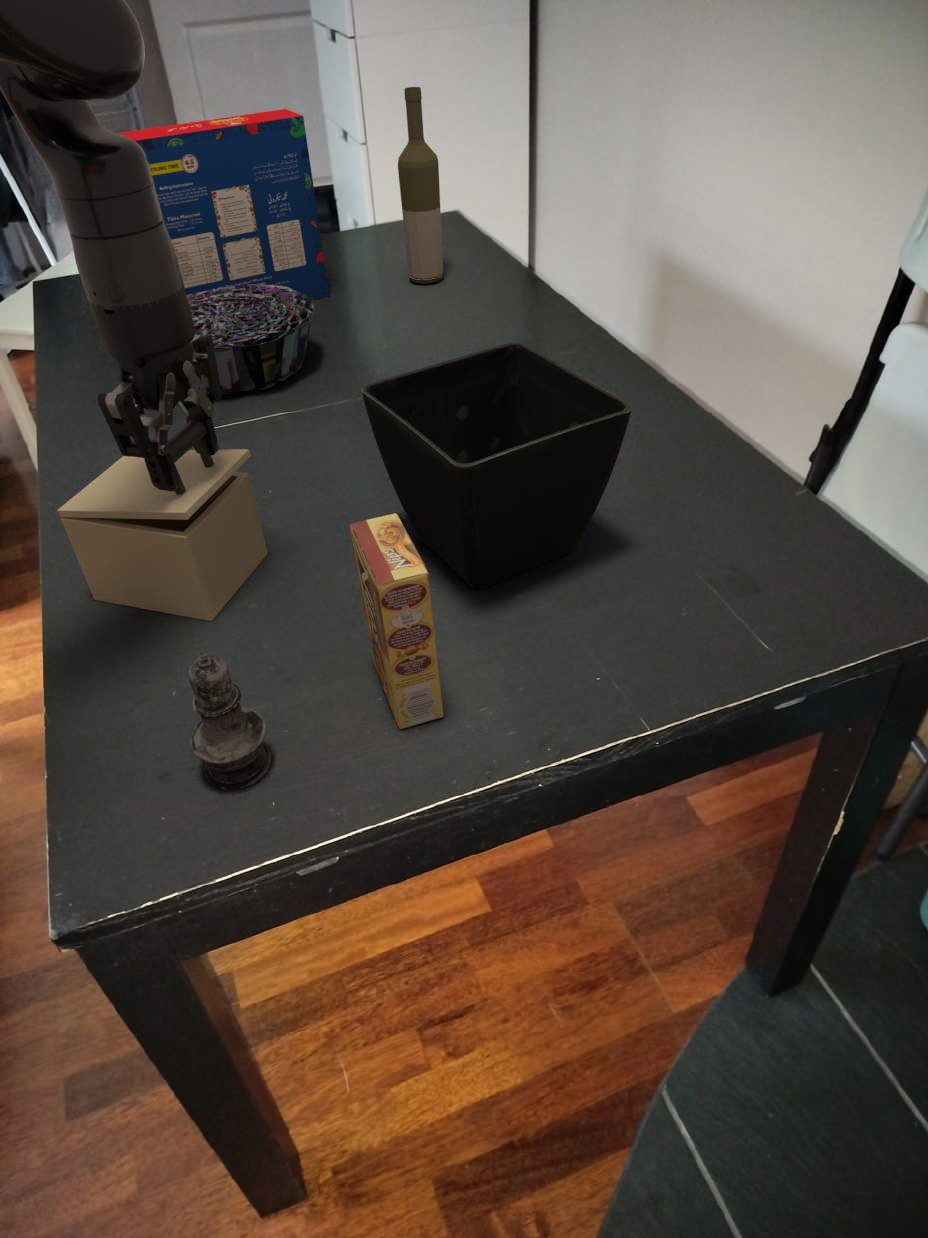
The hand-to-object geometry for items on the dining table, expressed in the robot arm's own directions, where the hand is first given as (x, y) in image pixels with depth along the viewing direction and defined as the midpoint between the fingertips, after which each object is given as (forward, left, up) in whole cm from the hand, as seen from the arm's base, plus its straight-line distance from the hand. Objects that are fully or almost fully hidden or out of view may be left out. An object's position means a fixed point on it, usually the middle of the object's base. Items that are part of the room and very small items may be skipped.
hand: (188, 469), depth 79 cm
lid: (-4, +1, -2) cm, 5 cm away
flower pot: (+28, +6, -13) cm, 32 cm away
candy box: (+20, -16, -13) cm, 29 cm away
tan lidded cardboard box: (-4, +1, -13) cm, 14 cm away
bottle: (+16, +90, -13) cm, 92 cm away
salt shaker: (+7, -24, -13) cm, 29 cm away
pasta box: (-15, +80, -13) cm, 82 cm away
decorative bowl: (-11, +53, -13) cm, 56 cm away
